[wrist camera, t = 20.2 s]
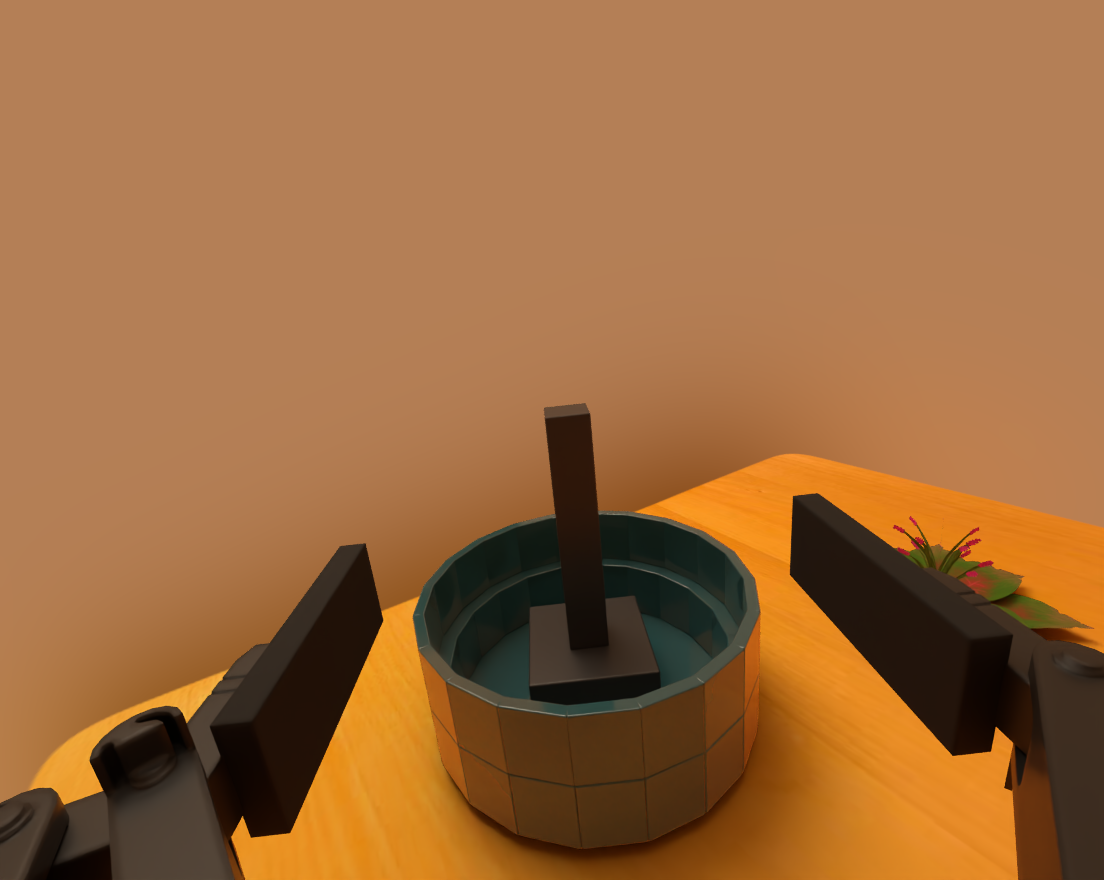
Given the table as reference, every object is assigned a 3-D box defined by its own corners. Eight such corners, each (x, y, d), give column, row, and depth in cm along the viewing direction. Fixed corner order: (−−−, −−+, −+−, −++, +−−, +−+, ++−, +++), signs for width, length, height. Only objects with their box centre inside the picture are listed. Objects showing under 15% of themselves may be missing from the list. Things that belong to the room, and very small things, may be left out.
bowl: (405, 883, 18) (367, 739, 16) (461, 618, 32) (444, 525, 31) (826, 835, 18) (838, 686, 16) (696, 592, 33) (694, 498, 31)
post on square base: (536, 741, 22) (493, 436, 18) (535, 653, 28) (502, 402, 24) (663, 727, 22) (648, 420, 18) (638, 642, 28) (622, 389, 24)
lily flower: (923, 703, 23) (935, 616, 22) (776, 566, 34) (777, 503, 33) (1156, 656, 24) (1181, 571, 23) (939, 538, 36) (947, 477, 34)
